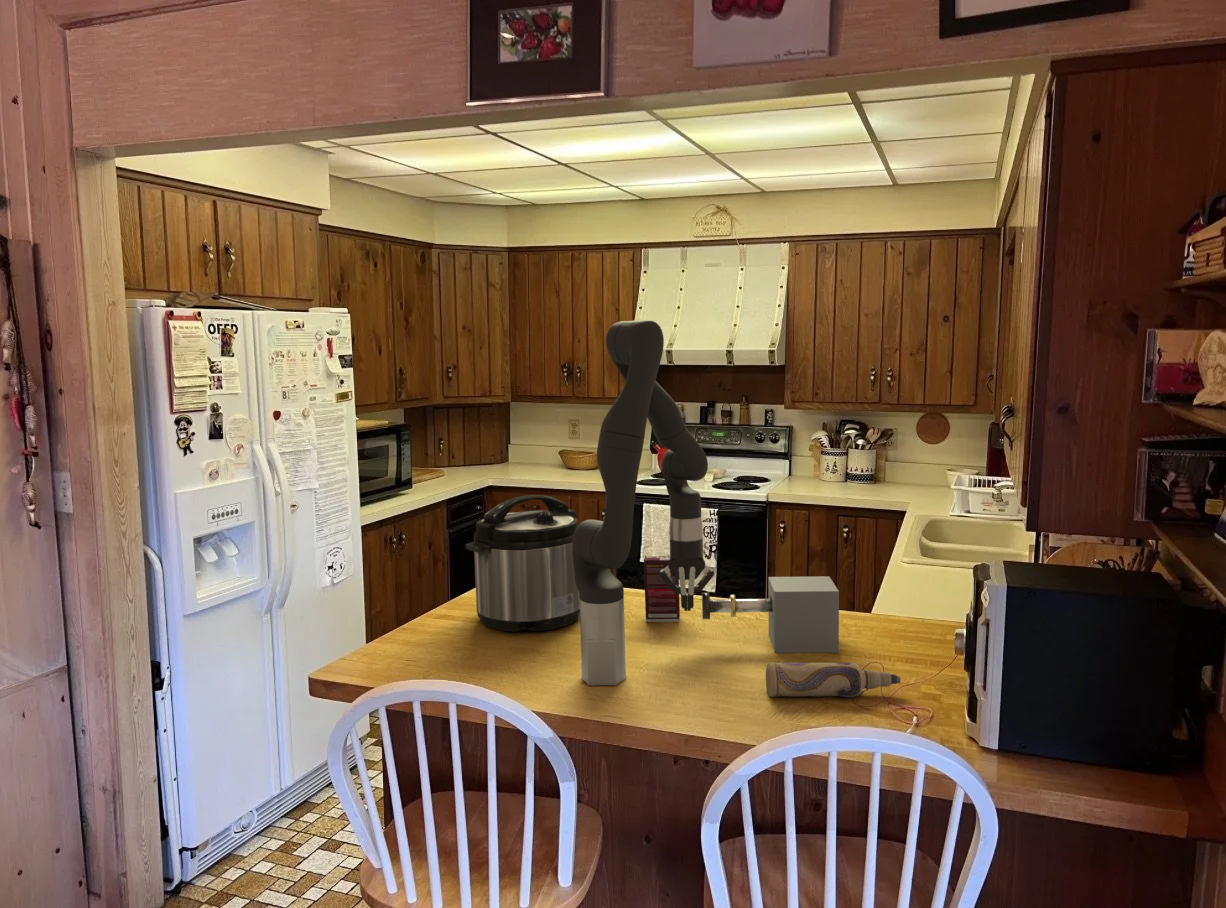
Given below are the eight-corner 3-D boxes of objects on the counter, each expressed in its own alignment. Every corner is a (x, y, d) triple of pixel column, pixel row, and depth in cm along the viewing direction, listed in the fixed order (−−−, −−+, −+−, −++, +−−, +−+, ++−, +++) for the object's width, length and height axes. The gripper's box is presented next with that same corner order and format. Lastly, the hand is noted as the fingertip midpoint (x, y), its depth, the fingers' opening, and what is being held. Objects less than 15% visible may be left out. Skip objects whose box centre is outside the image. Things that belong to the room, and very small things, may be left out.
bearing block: (838, 652, 197) (838, 591, 195) (774, 652, 198) (774, 591, 196) (828, 634, 209) (829, 576, 207) (768, 634, 210) (768, 576, 208)
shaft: (795, 622, 200) (795, 596, 199) (703, 622, 201) (702, 597, 200) (791, 614, 206) (791, 588, 205) (702, 614, 207) (701, 589, 206)
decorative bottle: (769, 703, 171) (769, 670, 171) (765, 688, 179) (764, 656, 178) (905, 702, 170) (906, 669, 169) (895, 687, 178) (895, 655, 177)
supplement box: (680, 616, 225) (679, 555, 223) (679, 622, 220) (678, 560, 218) (646, 616, 226) (644, 555, 224) (644, 622, 221) (643, 560, 219)
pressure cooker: (586, 598, 243) (582, 483, 238) (594, 632, 215) (589, 503, 211) (474, 604, 240) (468, 488, 236) (468, 640, 212) (461, 509, 208)
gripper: (656, 540, 198) (658, 615, 201) (716, 539, 198) (717, 614, 200) (656, 532, 206) (658, 605, 208) (714, 531, 205) (715, 604, 207)
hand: (687, 609), depth 204 cm, fingers closed
